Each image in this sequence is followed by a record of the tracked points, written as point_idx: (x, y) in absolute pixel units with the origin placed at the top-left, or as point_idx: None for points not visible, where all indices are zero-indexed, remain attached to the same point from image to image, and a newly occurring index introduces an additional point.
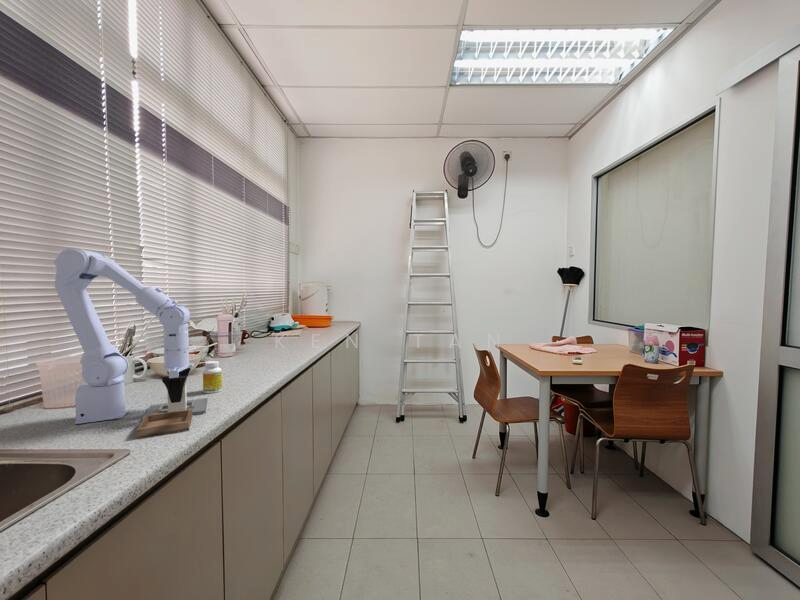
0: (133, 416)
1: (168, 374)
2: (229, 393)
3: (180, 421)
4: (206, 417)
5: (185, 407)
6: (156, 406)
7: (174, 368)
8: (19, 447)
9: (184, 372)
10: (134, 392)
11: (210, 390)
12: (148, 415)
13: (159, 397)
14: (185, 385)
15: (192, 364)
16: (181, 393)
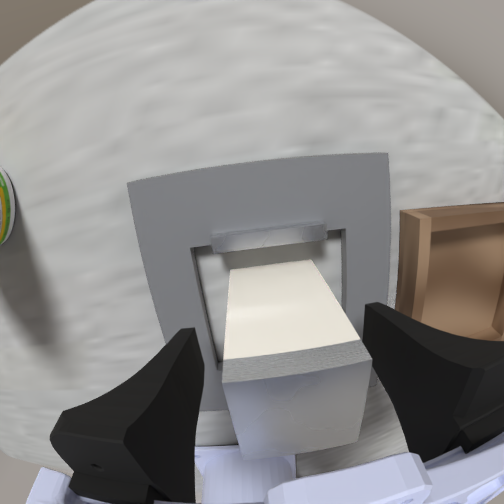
0: None
1: (194, 501)
2: (39, 98)
3: (459, 245)
4: (433, 146)
5: (310, 268)
6: (216, 393)
7: (499, 489)
8: None
9: (155, 447)
10: (30, 436)
11: (7, 206)
12: None
13: (61, 392)
14: (315, 346)
15: (428, 488)
16: (412, 319)
